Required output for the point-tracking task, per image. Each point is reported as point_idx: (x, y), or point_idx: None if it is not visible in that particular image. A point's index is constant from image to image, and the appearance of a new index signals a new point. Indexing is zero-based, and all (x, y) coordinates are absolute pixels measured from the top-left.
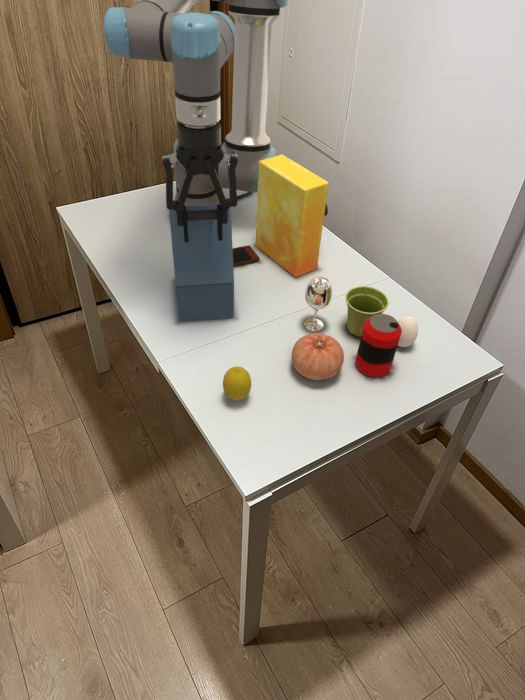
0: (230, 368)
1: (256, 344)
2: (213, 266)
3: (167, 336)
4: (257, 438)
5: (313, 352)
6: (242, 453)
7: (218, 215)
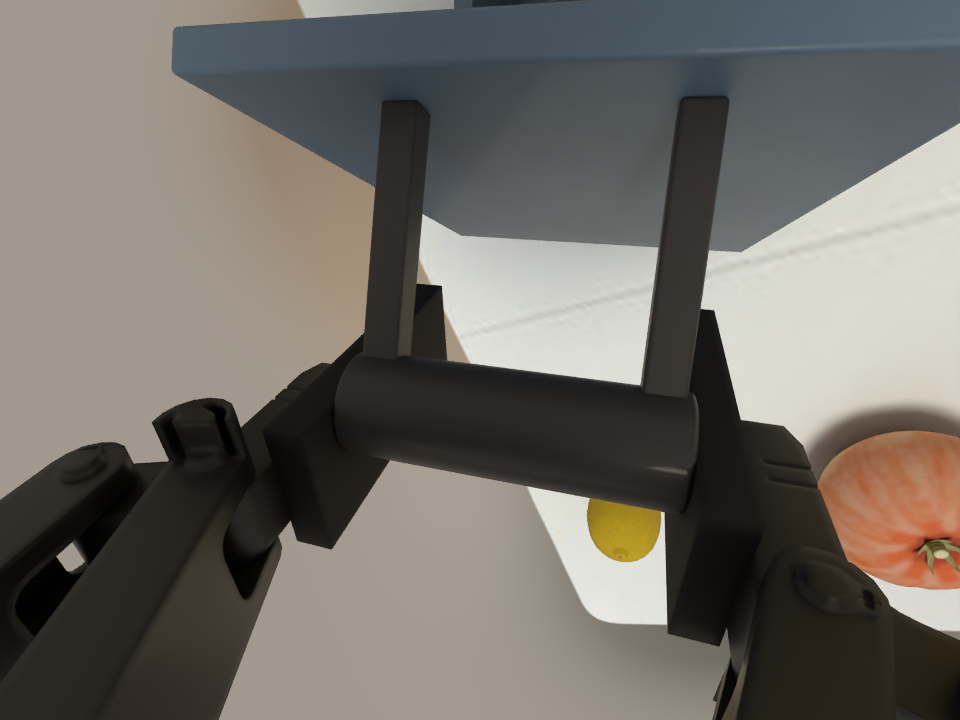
0: (608, 527)
1: (749, 336)
2: (640, 230)
3: (473, 247)
4: (639, 566)
5: (890, 568)
6: (601, 577)
7: (667, 589)
